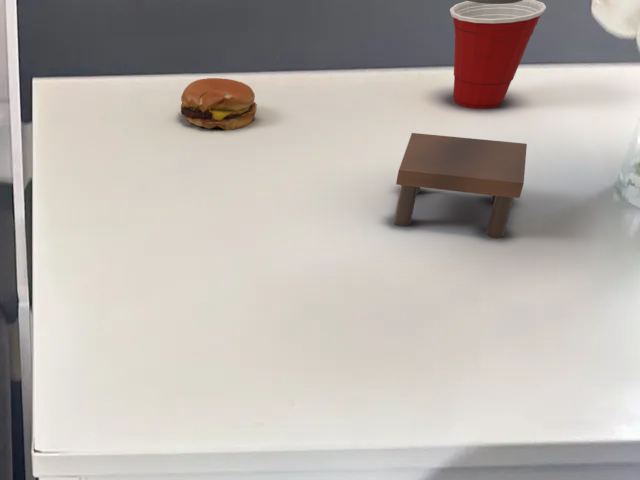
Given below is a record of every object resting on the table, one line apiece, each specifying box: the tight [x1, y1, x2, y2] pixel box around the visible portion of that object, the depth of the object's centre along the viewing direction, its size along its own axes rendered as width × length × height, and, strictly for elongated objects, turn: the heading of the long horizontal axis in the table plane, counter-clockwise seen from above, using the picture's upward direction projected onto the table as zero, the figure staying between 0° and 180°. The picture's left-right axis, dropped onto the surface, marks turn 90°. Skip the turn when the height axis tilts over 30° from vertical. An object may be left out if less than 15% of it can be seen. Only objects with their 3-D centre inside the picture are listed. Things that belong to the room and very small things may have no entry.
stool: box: [393, 132, 528, 239], centre depth 95 cm, size 11×11×6 cm
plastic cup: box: [449, 0, 547, 110], centre depth 120 cm, size 11×11×12 cm
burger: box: [180, 77, 258, 131], centre depth 121 cm, size 10×9×5 cm
